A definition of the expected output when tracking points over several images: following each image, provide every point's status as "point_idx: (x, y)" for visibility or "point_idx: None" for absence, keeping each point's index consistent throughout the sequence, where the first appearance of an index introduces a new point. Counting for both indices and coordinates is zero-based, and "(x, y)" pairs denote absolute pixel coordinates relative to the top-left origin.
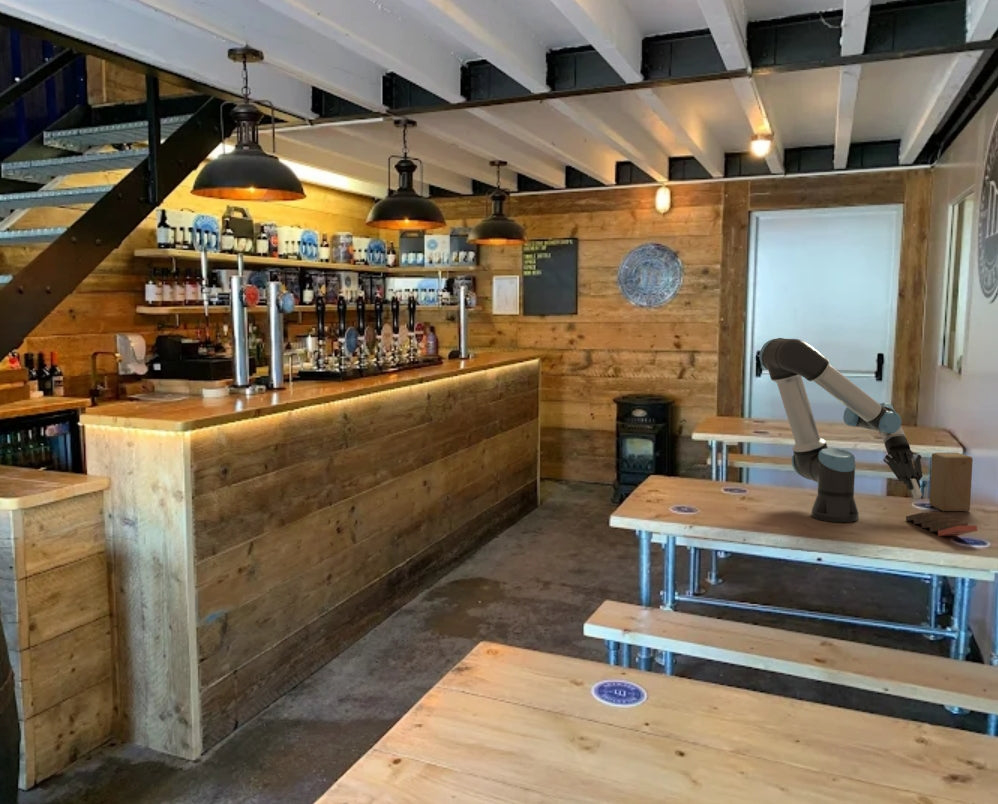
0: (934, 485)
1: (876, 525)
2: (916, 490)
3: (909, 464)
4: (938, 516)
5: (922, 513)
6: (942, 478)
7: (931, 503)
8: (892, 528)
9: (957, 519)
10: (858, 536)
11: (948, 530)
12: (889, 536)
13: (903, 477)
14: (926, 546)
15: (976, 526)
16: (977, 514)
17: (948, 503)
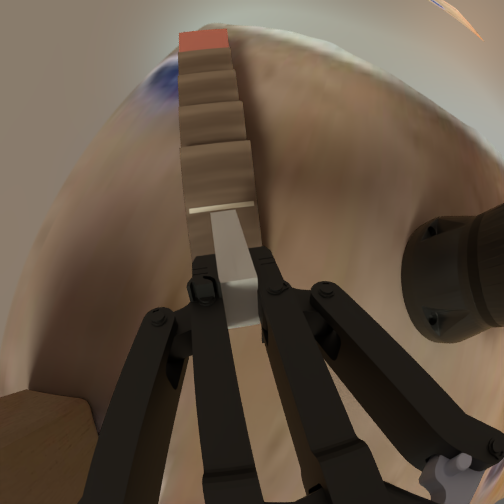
0: (72, 485)
1: (367, 199)
2: (237, 222)
3: (241, 440)
4: (216, 103)
5: (249, 143)
6: (26, 451)
7: None
8: (331, 167)
9: (180, 75)
10: (404, 117)
11: None
12: (349, 107)
13: (320, 283)
14: (290, 54)
15: (179, 34)
16: (18, 359)
17: (61, 403)
